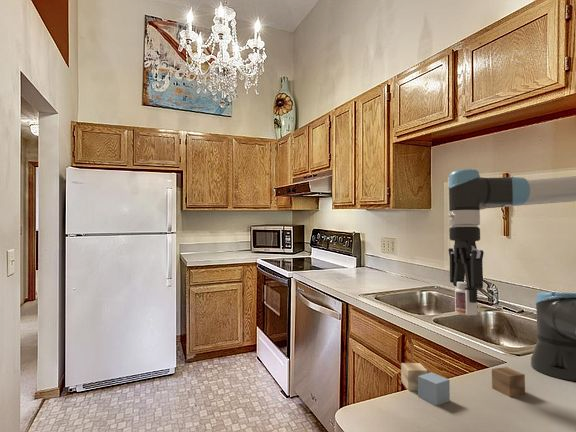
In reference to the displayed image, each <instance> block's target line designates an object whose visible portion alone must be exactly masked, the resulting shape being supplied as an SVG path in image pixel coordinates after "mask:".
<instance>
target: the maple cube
mask: <svg viewBox="0 0 576 432" xmlns="http://www.w3.org/2000/svg"><path fill="white" fill-rule="evenodd" d="M400 370H401V371H400V373H401V375H400V377H401V381H400V382H401V383H402V384H403V386H404V387H405V388H406V390H407V391H418V376H420V375H424V374H427V373H429V372H428V369H427V368H425V367H424V366H423V365H422V364H421V363H420V362H417V363H416V362H411V363H410V362H401V363H400Z"/></svg>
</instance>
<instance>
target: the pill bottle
mask: <svg viewBox="0 0 576 432" xmlns="http://www.w3.org/2000/svg"><path fill="white" fill-rule="evenodd" d="M457 287H458V288H457V289H456V290H455V289H454V310H455V313H456V314H458V315H462V316H467V315H466V303H465V288H467V283H466V281H464V282H457Z"/></svg>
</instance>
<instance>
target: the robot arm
mask: <svg viewBox="0 0 576 432" xmlns="http://www.w3.org/2000/svg"><path fill="white" fill-rule="evenodd" d="M447 189H448V205H449V208H448V209H449V211H448V218H449V226H451V227H449V229H448V232H449V233H448V234H449V240H450V241H454V242H453V243H454V244H453V247H452V248H448V255H449V282H450V283H451V284H452V285H453V286H454V291H455V290H456V289H457V288H458V287H457V282H466V283H467V288H465V303H466V315H465V316H478V291H479V290H480V289H481V290H482V289H483V288H484V280H483V279H484V272H483V271H484V269H483V258H484V253H485V252H484V250H482V249H477V247H478V246H477V244H476V242H480V240H481V228H480V227H479V225H481V214H480V212H481V210H485V209H493V208H494V209H495V208H504V207H505V208H506V207H507V208H508V207H518V206H530V205H533V206H534V205H543V204H544V205H547V204H557V203H572V202H576V176H562V177H560V176H559V177H551V178H542V179H541V178H540V179H531V180H529V179H526V178H524V177H519V176H517V177H516V176H509V177H508V176H506V177H505V176H504V177H481V175H480V172H479V171H478V170H477V169H471V168H470V169H469V168H467V169H466V168H465V169H464V168H463V169H458V170H454V171H452V172H450V174H449V175H448V188H447ZM535 299H536V301H535V306H536V309H535V310H536V334H537V335H536V336H537V341H536V344H535V346H534V350H533V353H532V355H531V357H530V366H531V368H533V369H534V370H536V371H537V372H540V373H542V374H544V375H547V376H550V377H553V378H557V379H561V380H562V379H563V380H565V381H573V382H576V292H556V291H553V292H552V291H540V292H537V294H536V298H535Z"/></svg>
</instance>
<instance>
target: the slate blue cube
mask: <svg viewBox="0 0 576 432" xmlns="http://www.w3.org/2000/svg"><path fill="white" fill-rule="evenodd" d="M450 389H451V387H450V379H449V378H446V377H444V376H442V375H440V374H436V373H435V372H433V371H432V372H428V373H427V374H424V375H420V376H418V390H417V393H418V394H417V395H418V398H420V399H422V400H424V401H425V402H428V403H430V404H431V405H433V406H436V407H437V406H439V405H442V404H444V403H447V402H449V401H450V399H451V398H450V395H451V393H450Z"/></svg>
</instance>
